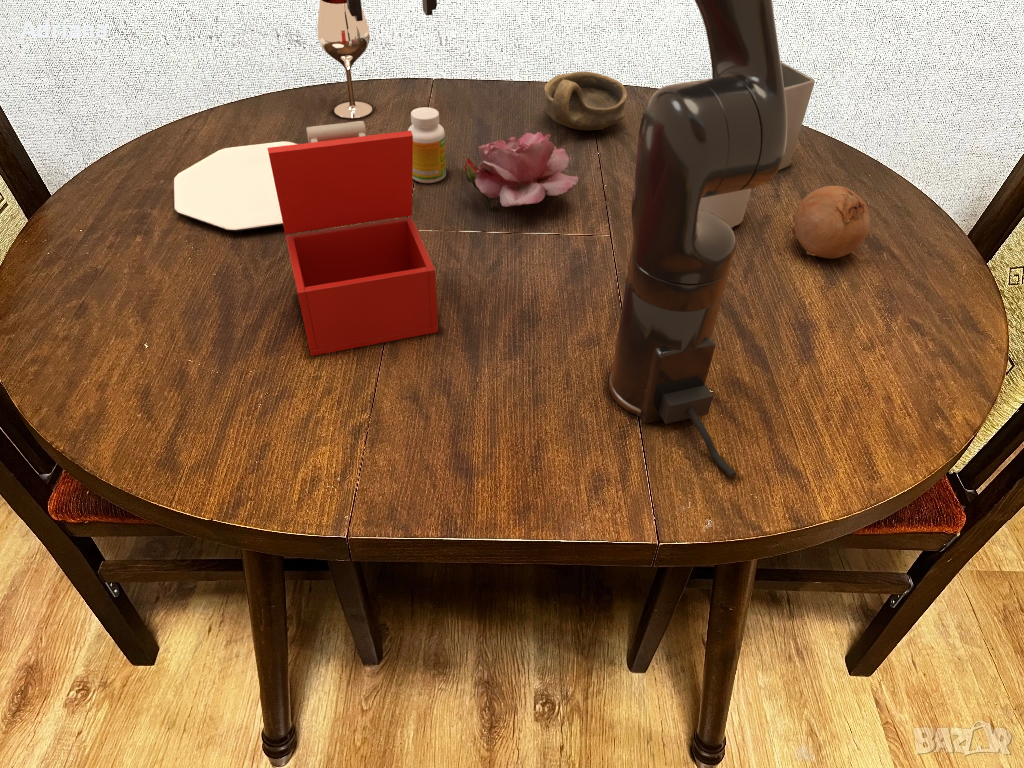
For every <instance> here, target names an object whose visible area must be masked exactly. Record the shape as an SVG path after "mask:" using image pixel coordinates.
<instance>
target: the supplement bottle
mask: <svg viewBox="0 0 1024 768" xmlns="http://www.w3.org/2000/svg"><path fill="white" fill-rule="evenodd" d="M410 122H411V125H410V126H409V127H408V128H407V131H411V132H412V135H413V180H414V181H416V182H419V183H422V184H433V183H438V182H440V181H442V180H443V179H445V178H446V175H447V159H446V158H447V157H446V134H445V129H444V127H443V126H442V125H441V124H440V112H439V111H438V110H437V109H436V108H434V107H427V106H426V107H425V106H423V107H417V108H414V109H413V110H412V111H411V112H410Z"/></svg>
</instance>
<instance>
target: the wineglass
mask: <svg viewBox="0 0 1024 768" xmlns="http://www.w3.org/2000/svg"><path fill="white" fill-rule="evenodd" d="M362 17H363V21H356V19H355V17H354V16H351V14H350V12H349V10H348V8H347V0H319V7H318V16H317V30H316V32H317V33H316V34H317V40H318V43H319V45H320V46H321V48H322V50H323V51H324V52H325V53H326V54H327V55H328V56H329V57H331V58H332V59H334V60H335V61H336V62H338V63H339V64H340V65H342V67H343V68H344V70H345V76H346V83H347V90H348V93H347V94H348V102H347V101H346V102H342V103H340V104H338V105H337V106H335V107H334V110H333V112H334V114H335V116H337V117H339V118H342V119H345V120H356V119H357V120H358V119H362V118H365V117H368V116H369V115H371V114H372V112H373V107H372V106H371V105H370V104H368V103H366V102H362V101H355V95H354V94H355V93H354V87H353V80H352V67H353V65H354V64H355V63H356V61H357V60H359V58H360V57H361V56H362V55H363V54H364V53H365V52H366V50H367V48H368V46H369V44H370V40H371V39H370V38H371V34H370V28H369V24H368V21H367V18H366V15H365V12H364V9H362Z"/></svg>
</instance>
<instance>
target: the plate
mask: <svg viewBox="0 0 1024 768" xmlns="http://www.w3.org/2000/svg"><path fill="white" fill-rule="evenodd" d="M295 144H296V143H295V142H291V141H283V140H282V141H276V142H275V141H273V142H267V143H257V144H256V143H255V144H248V145H241V146H240V145H239V146H232V147H224V148H222V149H219V150H217V151H215V152H214V153H211V154H210V155H208V156H207V157H205V158H203V159H201V160H198V162H196V163H194V164H192V165H190V166H189V167H187V168H185V169H184V170H182V171H180V172H178V173H177V175H176V176H175V177H174V178H173V196H174V197H173V199H174V211H175V212H176V213H177V214H178V215H181V216H183V217H186V218H189V219H192V220H195V221H198V222H201V223H205V224H206V225H210V226H212V227H216V228H219V229H222V230H224V231H226V232H227V231H228V232H242V231H243V232H244V231H250V230H256V229H257V230H258V229H264V228H271V227H277V226H283V221H282V216H281V211H280V207H279V202H278V197H277V192H276V187H275V183H274V178H273V173H272V168H271V163H270V158H269V154H268V149H267V148H270V147H279V146H287V145H295Z"/></svg>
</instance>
